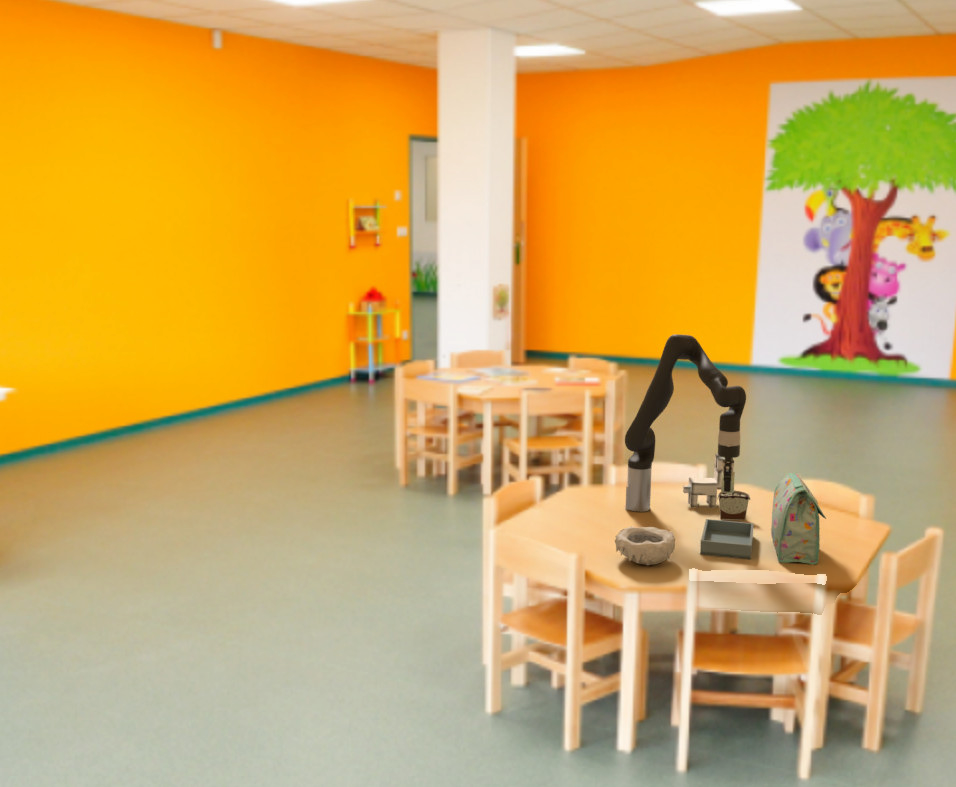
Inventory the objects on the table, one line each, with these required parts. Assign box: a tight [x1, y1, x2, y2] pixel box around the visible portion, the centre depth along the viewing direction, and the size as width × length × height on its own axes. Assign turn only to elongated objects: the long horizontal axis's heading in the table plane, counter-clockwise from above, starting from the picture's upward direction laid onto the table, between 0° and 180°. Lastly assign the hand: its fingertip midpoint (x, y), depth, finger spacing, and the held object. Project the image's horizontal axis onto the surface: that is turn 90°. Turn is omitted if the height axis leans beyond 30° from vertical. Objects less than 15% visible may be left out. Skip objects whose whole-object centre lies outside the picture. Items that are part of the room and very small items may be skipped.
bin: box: [699, 518, 754, 560], centre depth 356 cm, size 17×24×5 cm
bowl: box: [614, 526, 676, 567], centre depth 341 cm, size 21×20×10 cm
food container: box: [717, 490, 751, 521], centre depth 386 cm, size 12×6×10 cm, turn 84°
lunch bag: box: [770, 472, 827, 566], centre depth 347 cm, size 23×16×27 cm
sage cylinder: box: [720, 471, 736, 493], centre depth 354 cm, size 4×4×7 cm
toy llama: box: [682, 453, 725, 508], centre depth 400 cm, size 8×18×20 cm, turn 88°
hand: (727, 489), depth 354 cm, fingers closed on sage cylinder, 4 cm apart
